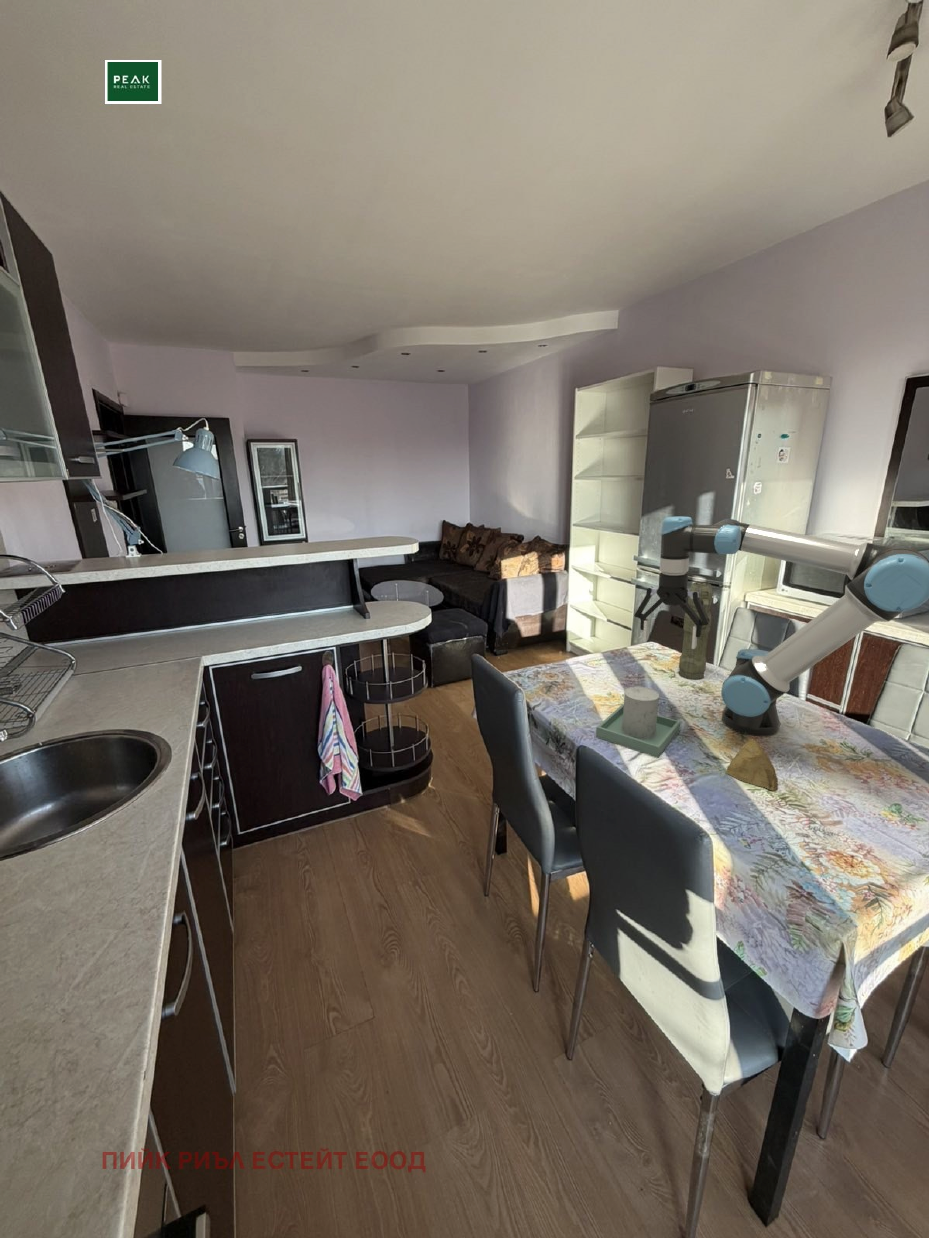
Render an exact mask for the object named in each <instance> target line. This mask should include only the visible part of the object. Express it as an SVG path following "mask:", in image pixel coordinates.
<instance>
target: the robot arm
mask: <svg viewBox="0 0 929 1238" xmlns="http://www.w3.org/2000/svg"><path fill="white" fill-rule="evenodd" d="M660 537H661V538H660V539H661V540H660V541H661V542H660V560H659V572H660V573H659V574H658V575H659V578H658V587H657V588H654V587H653V586H649V587H648V588H647V589H646V592H645V593H646V594H645V597H644V598H643V600H642V601H641V602H640V605H639V606H638V607H637V610H636V611H635V613H634V617H635V618H637V619H640V625H639V626H640V630H641V631H642V632H643V633H642V635H643V637H642V642H643V643H646V642H647V641H648V640H649V631H650V618H648V617H649V616H650V615H651V614H652V613H653V612H654V611H655V610H656V609H657V608H658V607H660V605H661V604H664V605H667V606H669V605H671V606H674V607H677V606H679V607H680V608H682V609H683V610H684V612H685V614H686V613H687V614H688V616H689V617H690V618H691V619H692V621H693V622H694V623H695V625H694V626H693V636H692V649H695V648H696V646H697V637H700V636H701V634H702V626H704V625H708V624H709V622H710V620H709V618H708V616H707V614H706V611H705V609H704V607H703V605H702V603H701V600H700V598H699V591H698V590H696V591H689V589H688V580H689V575H688V573H687V572H689V567H690V554H691V553H692V554H693V553H695V554H697V553H698V554H699V553H700V554H713V555H715V554H716V555H722V556H723V555H734V554H737V553H738V551H739V552H740V551H741V552H744V553H750V554H754V555H759V556H763V557H767V558H772V559H776V560H781V561H785V562H790V563H794V564H798V565H802V566H808V567H811V568H816V569H820V570H824V571H830V572H833V573H839V574H843V575H846V576H848V578H849V580H851V581H849V582H848V583H846V585H845V588H844V589H845V590H844V595H843V596H842V597H840V598H839V599H837V600H836V601H835V602H834V603H832V604H831V605H830V606H828V607H827V608H826V609H824V610H823V611H821V612H820V613H819V614H818V615H817V616H815V617H813V619H811V620H810V621H809V622H808V623H806V624H805V625H804V626H802V627H801V628H800V629H798V630H797V631H796V632H794V633H793V634H792V635H791V636H789V637H787V639H785V640H784V641H782V642H781V643H780V644H779V645H777V646H776V647H775V648H773V649H772V650H770V651H769V650H762V649H756V648H755V649H754V648H753V649H752V648H744V649H743V648H742V649H740V650H738V652H737V654H736V657H735V659H736V662H735V666H734V667H733V670H732V671H731V673H729V674H728V677H727V678H726V679H724V681H723V683H722V687H721V690H720V693H721V699H722V701H723V703H724V704H725V706H724V707H723V710H722V713H721V721H722V723H723V724H724V725H725V726H726V727H728V728H729V729H731V730H733V731H735V732H738V733H742V734H746V735H749V736H757V737H769V736H773V735H775V734H777V733H778V732H779V729H780V724H781V723H780V718H779V714H778V712H779V711H778V709H777V699H779V698H781V697H782V696H783V695H784V694H786V693H787V692H789V690H790V687H791V686H790V683H791V682H792V681H793V680H795V679H796V678H798V677H799V676H801V675H802V674H803V673H805V672H806V671H808V670H810V668H812V667H814V666H815V665H816V664H818V663H819V662H821V661H822V660H824V659H825V658H826V657H828V656H829V655H831V654H832V653H834V652H835V651H836V650H838V649H839V648H841V647H842V646H843V645H845V644H847V642H849V641H850V640H852V639H853V638H855V637H856V636H858V635H859V634H861V633H862V632H864V630H866V629H867V628H869V627H870V626H872V625H873V624H875V623H877V622H880V623H888V622H891V621H892V620H894V619H895V618H897V617H898V616H900V615H901V614H902V613H904V612H907V611H911V610H914V609H917V608H918V607H920V606H922V605H923V604H924V603H926V602H927V601H928V600H929V560H928V558H927V557H926V556H925V555H924V554H922V553H921V552H920V551H917V550H914V549H911V548H907V547H901V546H890V545H883V544H876V543H871V542H864V543H862V544H859V545H858V544H854V543H847V542H843V541H837V540H834V539H832V540H831V539H827V538H823V537H817V536H811V535H808V534H807V535H806V534H802V533H796V532H791V531H786V530H780V529H775V528H771V527H766V526H760V525H756V524H751V523H750V524H749V523H745V522H740V521H739V520H737V519H734V518H726V519H723V520H720V521H718V522H716V523H715V524H693V519H692V517H690V516H682V515H681V516H668V517H665V518H664V519H663V522H662V528H661V533H660ZM655 594H657V596H658V598H659V599H657V601H656V602H655V603H654V604H652V606H651V607H650V608H649V609H647V611H645V612H644V613H643V611H644V610H645V609H646V606H648V603H649V602H650V600H651V598H652V596H654V595H655ZM689 596H690V598H691V599H693V602H694V604H695V606H696V609H697V611H698V613H699V615H700V617H701V619H700V618H699V617H698V615H697V614H696V613H695V612H694V610H693V609H692V608H691V607H690V605H689V604H688V600H687V598H688V597H689ZM701 620H702V621H701Z"/></svg>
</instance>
